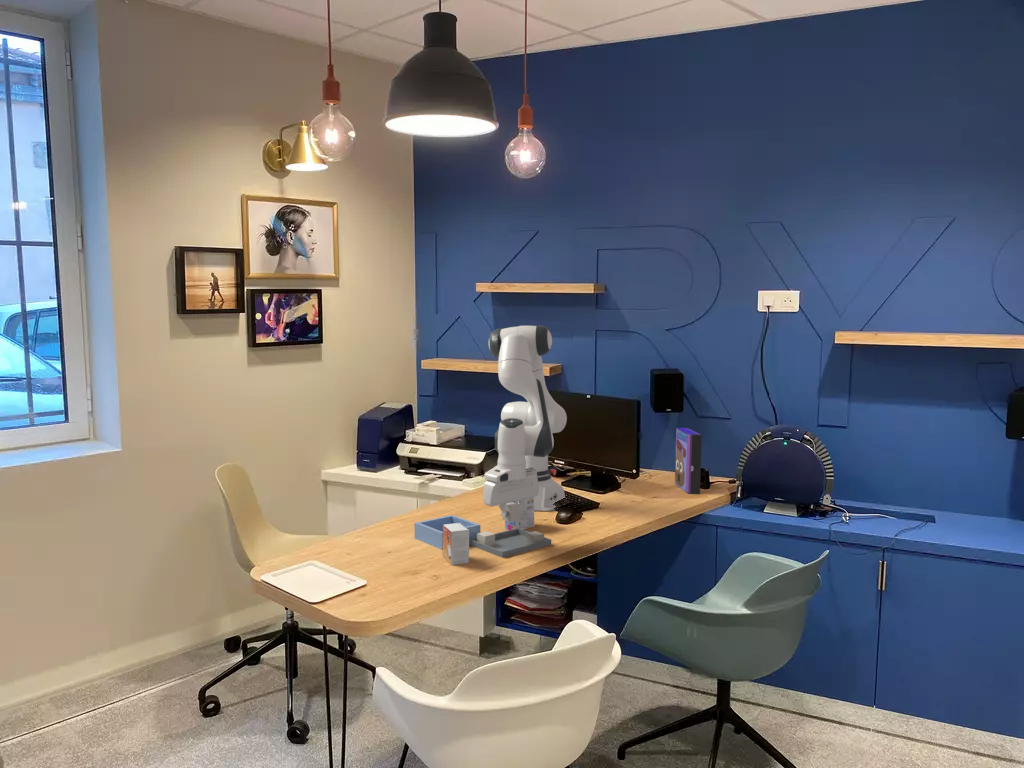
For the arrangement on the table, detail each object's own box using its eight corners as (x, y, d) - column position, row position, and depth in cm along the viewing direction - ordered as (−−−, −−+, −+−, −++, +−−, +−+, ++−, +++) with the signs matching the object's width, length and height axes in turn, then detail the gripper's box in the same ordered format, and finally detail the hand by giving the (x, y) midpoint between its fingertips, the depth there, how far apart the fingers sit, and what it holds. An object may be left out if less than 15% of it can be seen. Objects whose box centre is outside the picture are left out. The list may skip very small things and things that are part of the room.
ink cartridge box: (523, 524, 278) (523, 482, 277) (535, 527, 274) (535, 485, 273) (503, 530, 271) (503, 487, 269) (515, 533, 267) (515, 490, 266)
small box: (442, 558, 241) (442, 524, 240) (460, 556, 243) (460, 522, 242) (451, 567, 233) (451, 531, 232) (469, 564, 236) (469, 529, 234)
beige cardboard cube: (512, 517, 255) (512, 501, 255) (520, 520, 252) (520, 504, 252) (502, 519, 253) (502, 504, 252) (511, 522, 250) (511, 506, 249)
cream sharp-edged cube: (486, 542, 256) (486, 531, 255) (494, 545, 253) (494, 534, 252) (476, 544, 253) (476, 533, 253) (484, 547, 250) (484, 536, 250)
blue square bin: (452, 531, 269) (452, 514, 268) (480, 541, 257) (480, 524, 257) (414, 539, 259) (414, 522, 258) (441, 551, 248) (441, 533, 247)
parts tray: (517, 534, 266) (517, 528, 265) (551, 546, 254) (551, 539, 253) (469, 546, 253) (469, 539, 252) (502, 559, 241) (502, 551, 240)
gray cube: (535, 541, 256) (535, 531, 256) (544, 544, 253) (544, 534, 253) (525, 544, 254) (526, 533, 253) (534, 547, 250) (534, 536, 250)
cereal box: (674, 484, 340) (676, 427, 337) (685, 483, 340) (687, 427, 338) (688, 494, 322) (690, 434, 320) (699, 493, 323) (701, 434, 320)
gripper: (529, 464, 260) (529, 506, 262) (480, 474, 247) (480, 518, 248) (543, 468, 255) (543, 510, 257) (493, 478, 242) (493, 523, 244)
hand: (511, 514), depth 252 cm, fingers closed on beige cardboard cube, 4 cm apart
